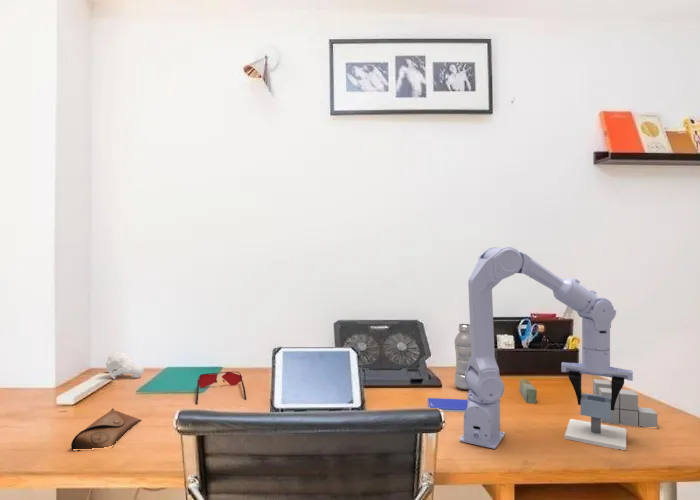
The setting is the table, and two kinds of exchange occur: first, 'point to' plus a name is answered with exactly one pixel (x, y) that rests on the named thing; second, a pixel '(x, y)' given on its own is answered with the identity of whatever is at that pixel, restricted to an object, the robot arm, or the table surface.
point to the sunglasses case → (104, 431)
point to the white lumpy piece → (123, 365)
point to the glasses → (212, 377)
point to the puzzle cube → (625, 407)
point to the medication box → (527, 391)
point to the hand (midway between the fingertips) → (596, 406)
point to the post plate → (596, 433)
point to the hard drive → (448, 404)
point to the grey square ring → (596, 406)
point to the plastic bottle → (462, 355)
